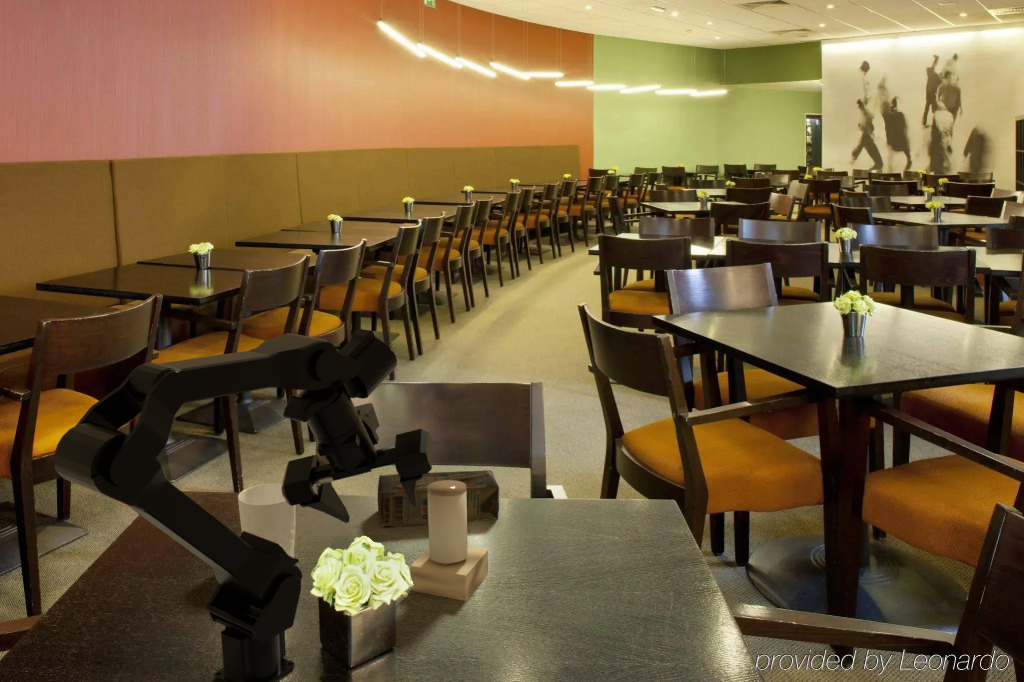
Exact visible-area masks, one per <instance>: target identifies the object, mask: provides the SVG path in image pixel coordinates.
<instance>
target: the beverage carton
mask: <svg viewBox="0 0 1024 682" xmlns="http://www.w3.org/2000/svg"><path fill="white" fill-rule="evenodd" d="M444 480H454V481H460V482H463V483H465V484H466V499H467V522H474V520H478V521H484V520H483V519H489V520H494V519H493V518H498V517H499V512H500V498H499V497H500V487H499V484H498V481H497V479H496V477H495V475H494V472H493V470H491V469H490V470H489V469H487V470H486V469H483V470H473V471H472V470H471V471H469V470H463V471H441V472H440V471H439V472H438V471H436V472H434V471H433V472H428V473H427V474H424V477H423V478H422V479H420V480H417V481H416V492H417V506H416V507H413V506H412V504H411V503H410V502H409V500H408V498H407V496H406V493H405V491H404V489H403V487H402V485H401V483H400V475H399V474H398V473H395V474H386V475H385V474H384V475H382V474H380V475H378V484H377V510H378V516H379V522H380V526H382V527H381V528H385V527H384V526H394V527H403V526H405V525H406V526H417V525H428V491H427V486H428V485H429V484H431V483H433V482H437V481H444ZM498 519H499V518H498Z"/></svg>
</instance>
